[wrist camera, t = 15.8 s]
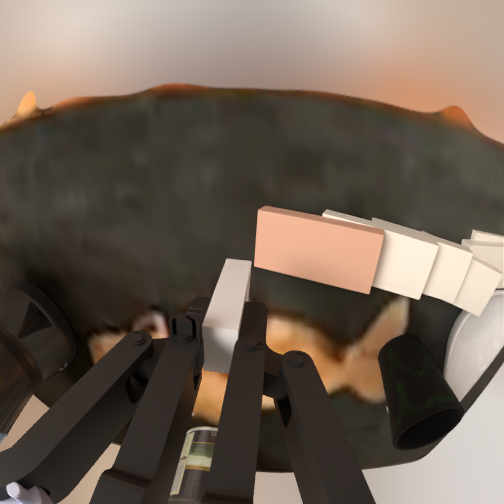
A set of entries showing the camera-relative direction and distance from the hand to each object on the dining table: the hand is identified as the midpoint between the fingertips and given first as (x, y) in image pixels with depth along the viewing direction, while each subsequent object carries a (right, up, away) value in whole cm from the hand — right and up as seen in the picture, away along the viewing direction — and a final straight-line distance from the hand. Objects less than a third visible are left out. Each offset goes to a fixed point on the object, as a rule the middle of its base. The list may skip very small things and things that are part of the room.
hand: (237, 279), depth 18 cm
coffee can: (-5, -30, +23) cm, 38 cm away
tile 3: (+16, +1, +6) cm, 17 cm away
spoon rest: (+27, -12, +12) cm, 32 cm away
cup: (+19, -10, +12) cm, 25 cm away
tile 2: (+11, +2, +6) cm, 13 cm away
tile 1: (+7, +3, +7) cm, 10 cm away
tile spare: (+2, +3, +7) cm, 8 cm away
